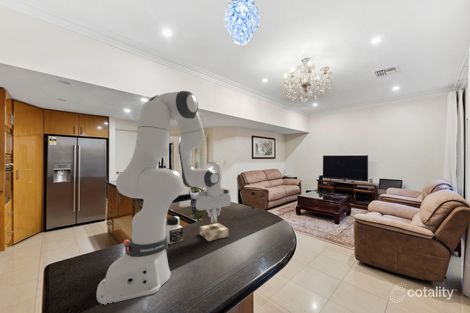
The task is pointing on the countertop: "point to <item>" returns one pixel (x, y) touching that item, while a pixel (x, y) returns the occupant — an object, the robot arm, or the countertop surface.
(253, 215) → the countertop surface
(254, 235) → the countertop surface
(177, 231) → the medicine bottle
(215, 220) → the pin
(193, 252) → the countertop surface
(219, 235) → the socket block
